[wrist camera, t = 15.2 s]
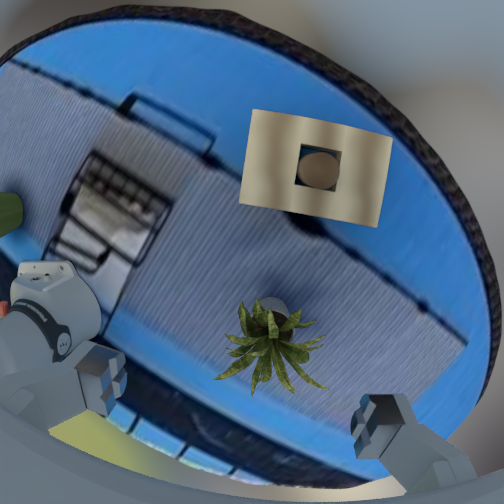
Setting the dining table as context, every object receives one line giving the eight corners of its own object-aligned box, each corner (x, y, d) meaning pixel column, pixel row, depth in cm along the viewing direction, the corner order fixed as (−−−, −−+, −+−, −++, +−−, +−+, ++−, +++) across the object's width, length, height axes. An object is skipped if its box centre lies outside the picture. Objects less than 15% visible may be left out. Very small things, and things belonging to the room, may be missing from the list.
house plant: (338, 285, 45) (366, 342, 29) (305, 357, 49) (313, 427, 33) (248, 256, 45) (233, 304, 29) (223, 333, 48) (202, 400, 33)
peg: (291, 182, 41) (299, 187, 31) (294, 152, 40) (304, 148, 30) (320, 186, 41) (337, 192, 31) (324, 157, 40) (342, 154, 30)
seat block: (242, 199, 42) (238, 203, 38) (255, 115, 39) (253, 109, 34) (366, 221, 42) (376, 228, 37) (380, 140, 38) (392, 137, 34)
